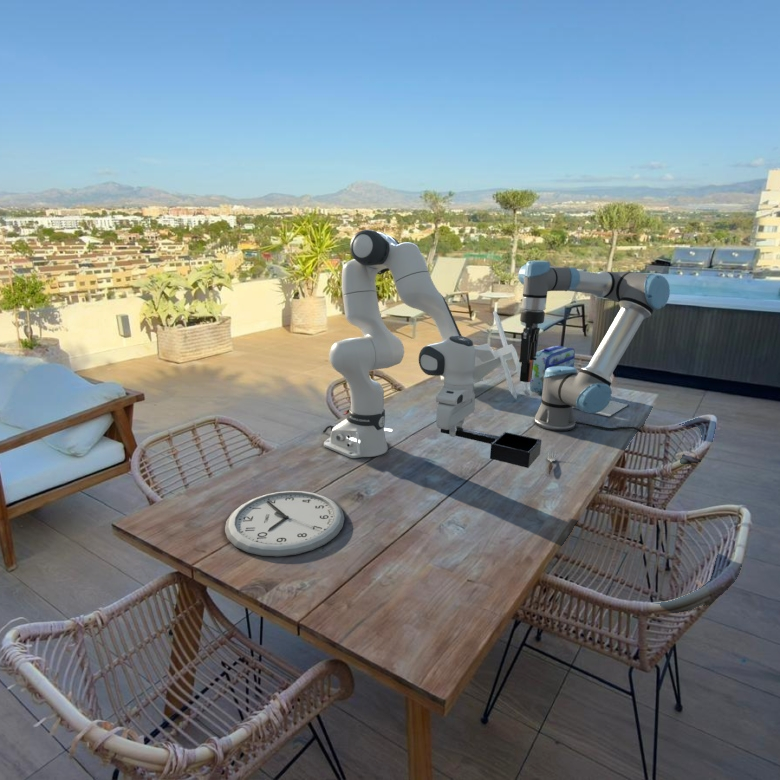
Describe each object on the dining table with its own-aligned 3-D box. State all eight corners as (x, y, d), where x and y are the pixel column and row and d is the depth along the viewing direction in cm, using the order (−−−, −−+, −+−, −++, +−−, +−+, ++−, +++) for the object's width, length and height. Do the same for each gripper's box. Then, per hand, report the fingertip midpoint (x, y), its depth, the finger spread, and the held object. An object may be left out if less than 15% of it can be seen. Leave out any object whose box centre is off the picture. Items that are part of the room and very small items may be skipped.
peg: (522, 379, 178) (524, 359, 175) (531, 380, 176) (534, 360, 174) (519, 381, 175) (521, 360, 173) (529, 382, 173) (531, 362, 171)
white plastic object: (461, 429, 252) (437, 405, 227) (444, 352, 274) (420, 323, 250) (535, 404, 240) (518, 377, 215) (510, 326, 262) (492, 293, 237)
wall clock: (344, 547, 121) (211, 552, 118) (344, 554, 121) (212, 558, 119) (344, 486, 149) (237, 489, 147) (344, 491, 150) (237, 494, 147)
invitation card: (608, 416, 214) (573, 407, 224) (608, 416, 214) (573, 408, 224) (628, 404, 229) (594, 396, 238) (628, 405, 229) (594, 397, 238)
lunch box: (546, 399, 235) (551, 353, 228) (525, 393, 242) (530, 349, 236) (574, 387, 252) (579, 345, 246) (553, 383, 260) (558, 341, 253)
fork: (544, 474, 162) (545, 469, 162) (548, 455, 177) (548, 449, 176) (553, 476, 161) (554, 470, 161) (556, 456, 176) (557, 450, 175)
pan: (540, 454, 153) (541, 439, 152) (528, 468, 144) (529, 452, 143) (449, 433, 168) (450, 420, 166) (433, 444, 159) (434, 430, 157)
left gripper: (462, 381, 166) (460, 421, 170) (433, 397, 149) (431, 442, 153) (481, 384, 163) (478, 425, 167) (453, 401, 146) (450, 447, 150)
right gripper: (528, 306, 177) (521, 373, 184) (513, 311, 164) (507, 383, 170) (551, 308, 173) (543, 376, 180) (537, 314, 160) (529, 387, 167)
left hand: (455, 434), depth 160 cm, fingers closed on pan, 2 cm apart
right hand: (525, 379), depth 175 cm, fingers closed on peg, 3 cm apart
